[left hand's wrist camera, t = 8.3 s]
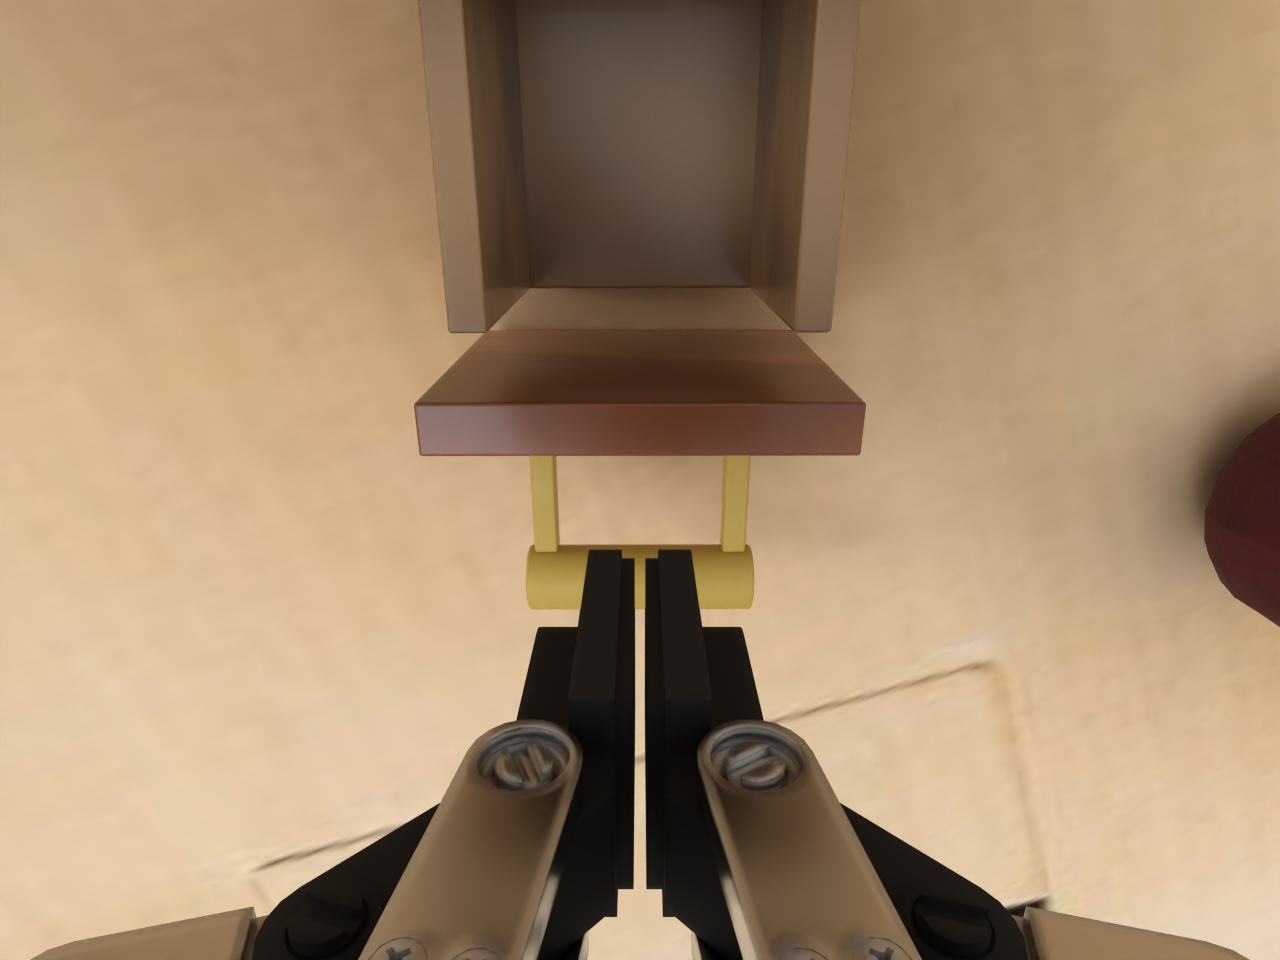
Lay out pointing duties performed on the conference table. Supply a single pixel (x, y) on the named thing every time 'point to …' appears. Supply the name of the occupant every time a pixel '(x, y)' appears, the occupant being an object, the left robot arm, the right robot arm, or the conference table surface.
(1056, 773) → the conference table surface
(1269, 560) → the dark maroon ball
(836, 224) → the drawer
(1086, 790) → the conference table surface
